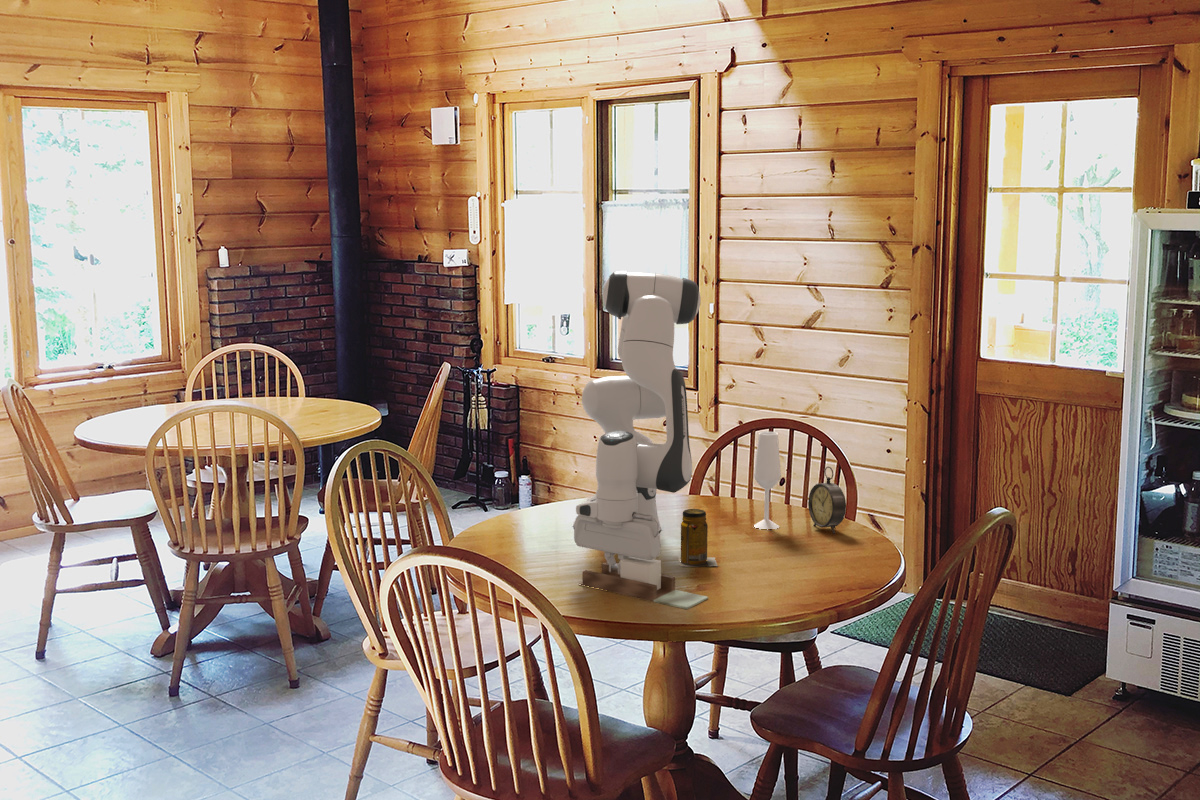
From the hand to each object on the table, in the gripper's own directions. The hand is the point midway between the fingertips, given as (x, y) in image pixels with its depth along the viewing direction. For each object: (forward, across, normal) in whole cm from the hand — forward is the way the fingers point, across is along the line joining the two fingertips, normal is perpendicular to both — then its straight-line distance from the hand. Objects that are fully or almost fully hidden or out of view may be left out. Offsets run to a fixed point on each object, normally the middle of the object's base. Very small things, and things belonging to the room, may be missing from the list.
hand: (616, 572), depth 249 cm
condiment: (+3, -5, -25) cm, 26 cm away
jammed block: (+2, -6, 0) cm, 6 cm away
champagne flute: (+3, -2, -62) cm, 62 cm away
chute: (+3, -7, 0) cm, 8 cm away
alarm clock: (+3, -16, -68) cm, 70 cm away
